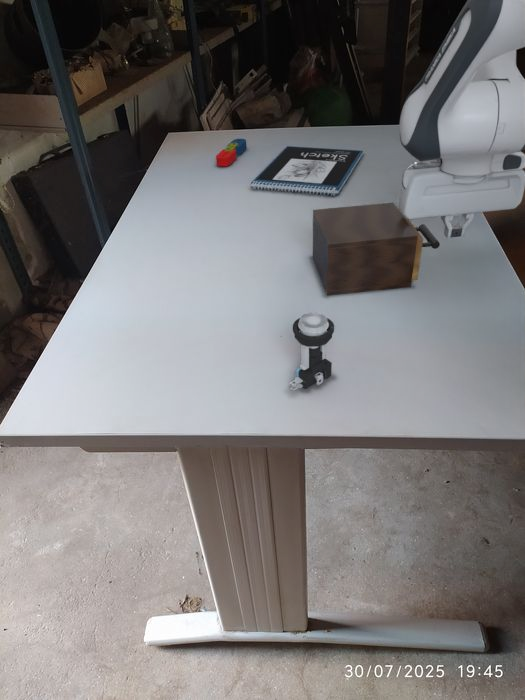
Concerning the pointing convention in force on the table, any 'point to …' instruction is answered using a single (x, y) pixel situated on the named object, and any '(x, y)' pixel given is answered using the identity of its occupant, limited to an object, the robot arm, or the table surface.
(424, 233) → the wooden pull-out drawer
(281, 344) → the table surface
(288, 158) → the sketchbook
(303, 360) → the push button
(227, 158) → the multicolored plastic bar
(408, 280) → the wooden drawer box
